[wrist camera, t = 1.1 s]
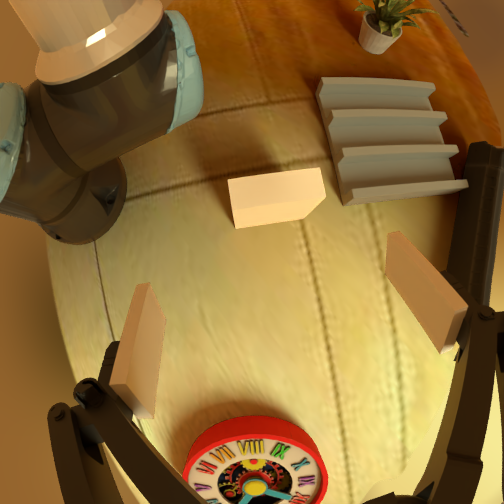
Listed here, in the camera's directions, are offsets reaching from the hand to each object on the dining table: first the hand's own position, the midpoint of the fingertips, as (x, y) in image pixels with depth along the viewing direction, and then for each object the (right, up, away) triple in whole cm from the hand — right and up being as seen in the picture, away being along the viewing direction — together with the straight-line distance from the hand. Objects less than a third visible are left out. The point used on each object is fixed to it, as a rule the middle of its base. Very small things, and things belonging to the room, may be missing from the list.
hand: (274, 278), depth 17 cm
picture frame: (+1, +7, +25) cm, 25 cm away
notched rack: (+20, +18, +26) cm, 37 cm away
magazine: (+32, +4, +26) cm, 41 cm away
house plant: (+19, +39, +28) cm, 52 cm away
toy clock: (-1, -31, +22) cm, 38 cm away
